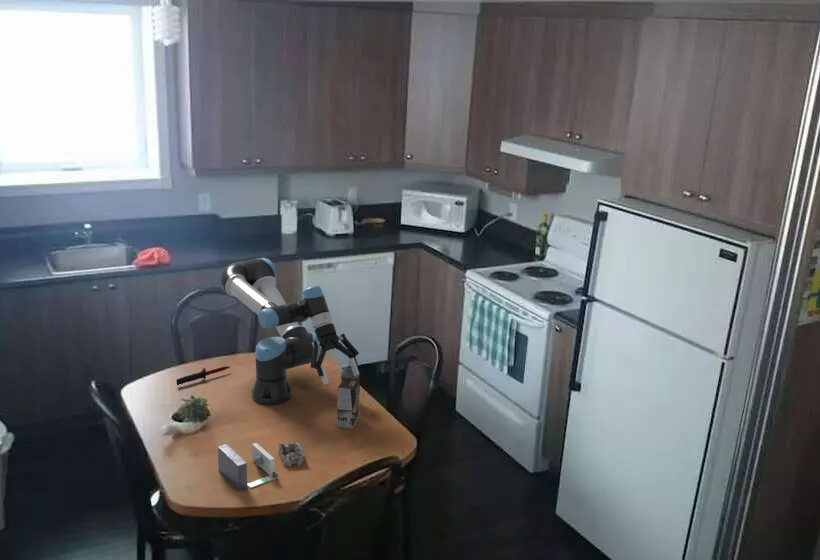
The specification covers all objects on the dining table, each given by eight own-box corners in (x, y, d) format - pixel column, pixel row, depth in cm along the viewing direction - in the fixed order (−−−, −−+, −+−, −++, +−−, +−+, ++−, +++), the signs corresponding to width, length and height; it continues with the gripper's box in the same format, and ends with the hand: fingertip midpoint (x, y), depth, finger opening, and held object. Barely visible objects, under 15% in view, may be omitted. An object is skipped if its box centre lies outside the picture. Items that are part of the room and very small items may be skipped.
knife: (178, 388, 314) (177, 377, 312) (176, 386, 315) (175, 375, 313) (231, 372, 329) (231, 361, 328) (229, 371, 330) (229, 360, 329)
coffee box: (353, 429, 289) (354, 389, 284) (336, 426, 291) (337, 387, 285) (359, 417, 298) (360, 378, 293) (343, 415, 299) (344, 376, 294)
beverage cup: (344, 408, 304) (345, 361, 297) (337, 400, 310) (338, 354, 303) (361, 405, 307) (363, 358, 301) (354, 397, 313) (355, 351, 307)
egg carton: (277, 452, 273) (277, 441, 272) (298, 449, 275) (298, 438, 274) (283, 468, 264) (282, 457, 262) (305, 465, 266) (305, 454, 265)
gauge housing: (218, 470, 260) (217, 446, 257) (255, 457, 268) (254, 434, 266) (240, 492, 249) (240, 467, 246) (278, 478, 257) (277, 454, 254)
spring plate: (248, 461, 266) (247, 445, 264) (256, 458, 268) (256, 442, 266) (269, 480, 255) (269, 464, 253) (278, 477, 257) (277, 461, 255)
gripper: (299, 330, 286) (318, 385, 283) (355, 316, 301) (373, 368, 298) (290, 336, 292) (308, 390, 289) (346, 322, 307) (364, 373, 304)
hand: (341, 379), depth 293 cm, fingers open, 13 cm apart
